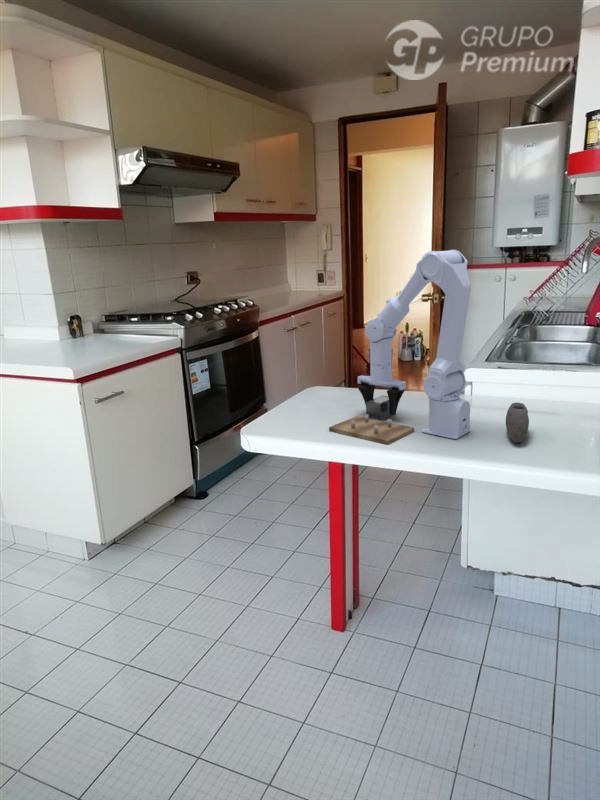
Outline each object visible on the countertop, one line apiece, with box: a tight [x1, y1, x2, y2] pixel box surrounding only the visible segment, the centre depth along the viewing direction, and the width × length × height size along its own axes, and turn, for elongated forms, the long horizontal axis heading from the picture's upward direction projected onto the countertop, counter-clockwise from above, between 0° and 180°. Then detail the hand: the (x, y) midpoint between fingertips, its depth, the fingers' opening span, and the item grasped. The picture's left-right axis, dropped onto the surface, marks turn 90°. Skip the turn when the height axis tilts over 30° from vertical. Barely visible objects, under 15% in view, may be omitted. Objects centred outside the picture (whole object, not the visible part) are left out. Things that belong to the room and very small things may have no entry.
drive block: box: [365, 395, 397, 421], centre depth 155 cm, size 4×8×5 cm, turn 138°
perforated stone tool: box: [505, 402, 530, 444], centre depth 134 cm, size 15×5×7 cm, turn 159°
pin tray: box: [328, 413, 415, 446], centre depth 144 cm, size 18×12×3 cm, turn 48°
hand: (381, 411), depth 155 cm, fingers open, 7 cm apart
